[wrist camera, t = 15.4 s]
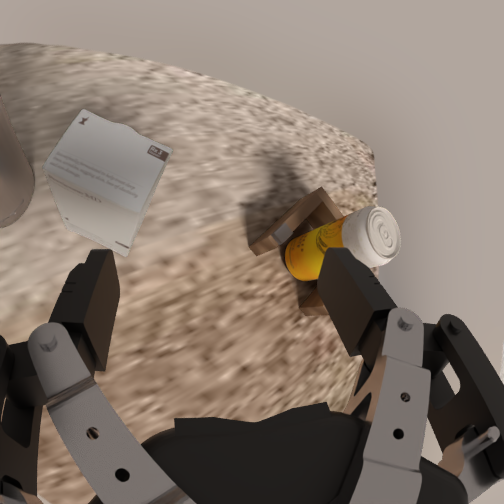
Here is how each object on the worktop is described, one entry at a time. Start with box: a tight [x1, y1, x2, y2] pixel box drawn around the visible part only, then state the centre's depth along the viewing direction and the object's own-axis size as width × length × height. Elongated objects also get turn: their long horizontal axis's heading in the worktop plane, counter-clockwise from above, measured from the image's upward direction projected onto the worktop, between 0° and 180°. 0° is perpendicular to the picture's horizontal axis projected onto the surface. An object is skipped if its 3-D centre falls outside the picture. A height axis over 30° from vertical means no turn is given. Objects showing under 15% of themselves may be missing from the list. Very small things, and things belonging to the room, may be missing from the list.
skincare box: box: [42, 109, 173, 257], centre depth 23 cm, size 8×6×15 cm
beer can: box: [285, 206, 401, 281], centre depth 33 cm, size 6×6×15 cm
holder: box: [249, 187, 344, 316], centre depth 37 cm, size 12×12×6 cm
